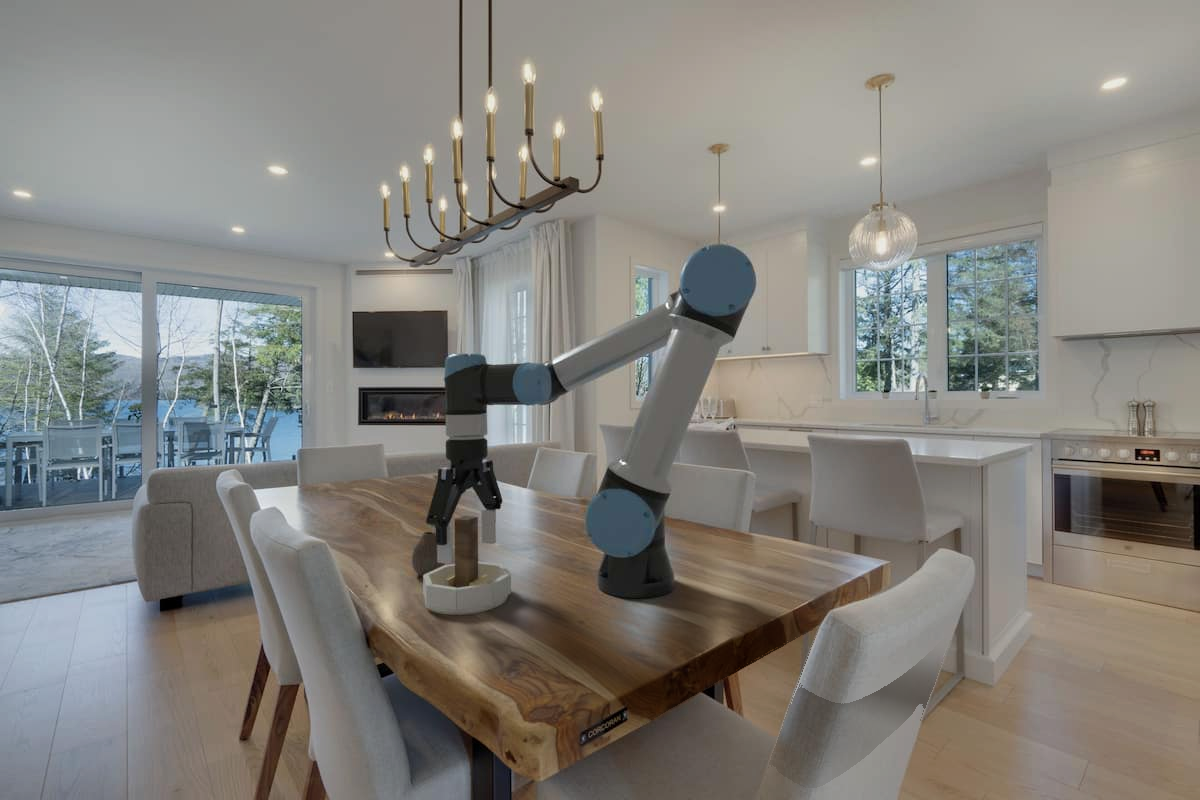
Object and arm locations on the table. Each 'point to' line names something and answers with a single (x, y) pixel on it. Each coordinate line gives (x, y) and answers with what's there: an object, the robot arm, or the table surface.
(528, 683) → the table surface
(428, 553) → the vase
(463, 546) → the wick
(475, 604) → the white octagonal bowl
